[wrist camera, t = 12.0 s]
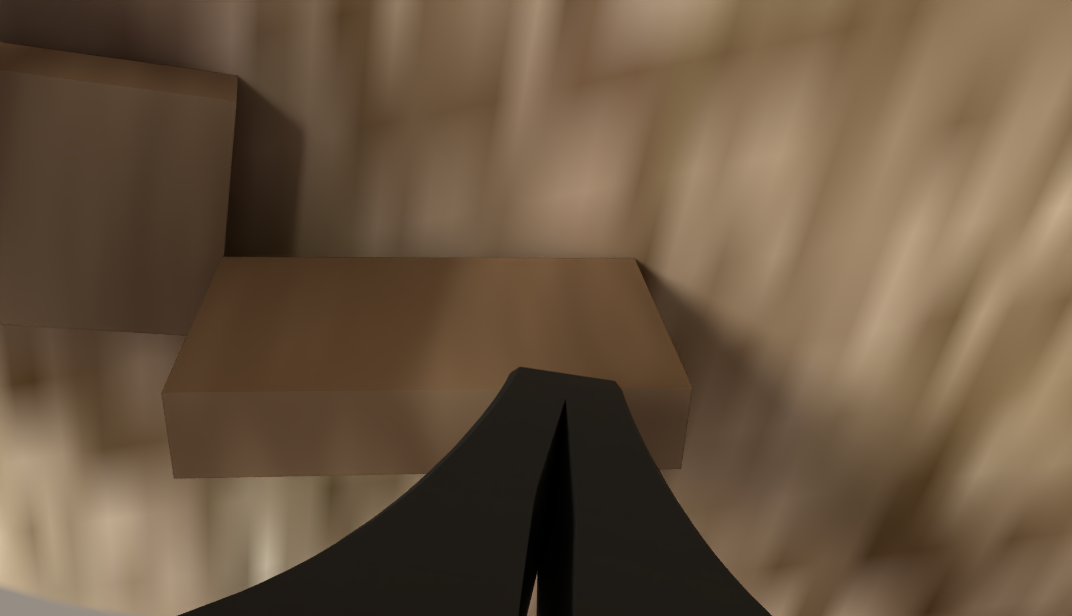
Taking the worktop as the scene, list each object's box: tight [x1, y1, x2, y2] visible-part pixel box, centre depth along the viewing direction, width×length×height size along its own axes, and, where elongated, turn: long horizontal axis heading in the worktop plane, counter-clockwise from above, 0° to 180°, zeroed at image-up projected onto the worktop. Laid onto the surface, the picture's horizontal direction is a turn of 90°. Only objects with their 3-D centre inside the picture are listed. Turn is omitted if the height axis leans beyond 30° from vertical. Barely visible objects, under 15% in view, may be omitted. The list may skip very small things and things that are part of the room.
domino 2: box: [162, 257, 692, 479], centre depth 16 cm, size 1×4×7 cm
